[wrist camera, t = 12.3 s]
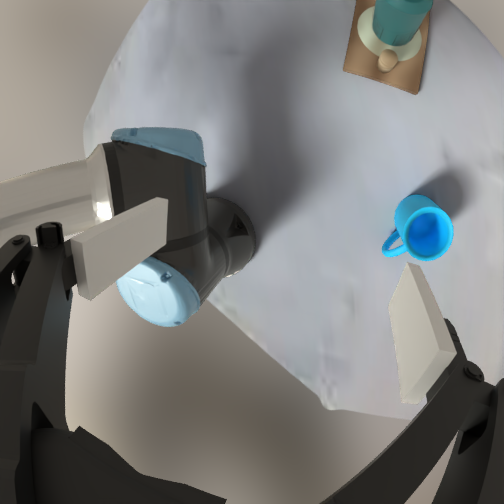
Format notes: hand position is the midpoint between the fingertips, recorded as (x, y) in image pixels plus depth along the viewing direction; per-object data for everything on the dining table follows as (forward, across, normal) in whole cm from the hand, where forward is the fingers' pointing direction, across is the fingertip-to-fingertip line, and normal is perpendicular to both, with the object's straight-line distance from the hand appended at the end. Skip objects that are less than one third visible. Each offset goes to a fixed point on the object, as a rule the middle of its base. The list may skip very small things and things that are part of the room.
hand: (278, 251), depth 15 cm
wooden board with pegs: (+34, +7, +26) cm, 43 cm away
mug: (+34, +17, -5) cm, 38 cm away
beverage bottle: (+32, +7, +26) cm, 42 cm away
